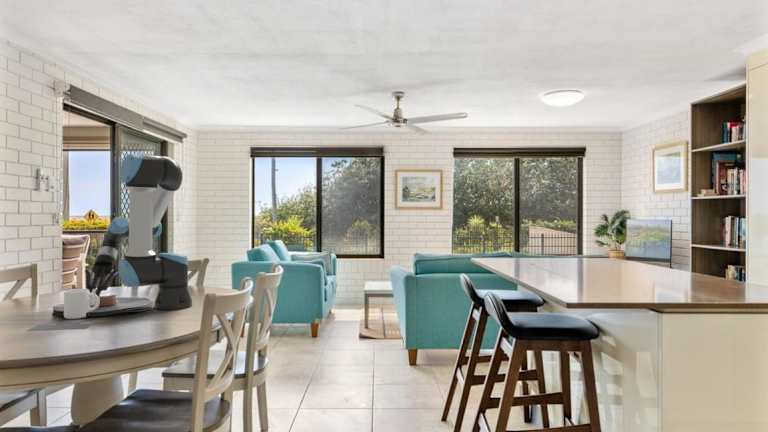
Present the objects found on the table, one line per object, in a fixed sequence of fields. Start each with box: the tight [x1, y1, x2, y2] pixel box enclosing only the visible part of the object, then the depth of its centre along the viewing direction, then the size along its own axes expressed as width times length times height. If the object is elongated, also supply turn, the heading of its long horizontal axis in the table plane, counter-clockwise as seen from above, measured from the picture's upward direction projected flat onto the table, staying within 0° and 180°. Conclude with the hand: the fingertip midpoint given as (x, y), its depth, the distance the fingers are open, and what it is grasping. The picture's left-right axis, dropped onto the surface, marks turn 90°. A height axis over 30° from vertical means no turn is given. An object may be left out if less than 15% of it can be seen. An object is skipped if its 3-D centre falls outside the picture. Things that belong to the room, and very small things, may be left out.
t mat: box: [26, 319, 96, 332], centre depth 175 cm, size 19×14×1 cm
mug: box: [63, 288, 101, 320], centre depth 188 cm, size 12×8×10 cm
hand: (91, 303), depth 198 cm, fingers closed
